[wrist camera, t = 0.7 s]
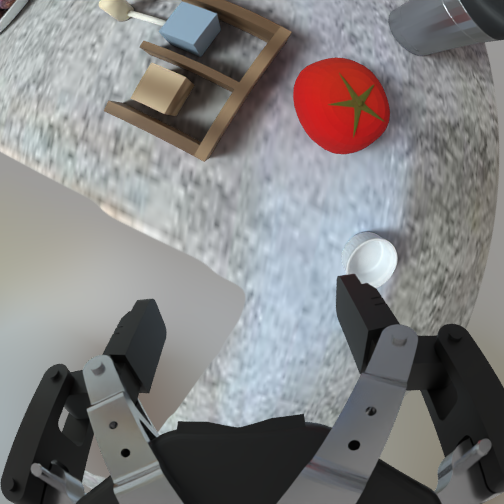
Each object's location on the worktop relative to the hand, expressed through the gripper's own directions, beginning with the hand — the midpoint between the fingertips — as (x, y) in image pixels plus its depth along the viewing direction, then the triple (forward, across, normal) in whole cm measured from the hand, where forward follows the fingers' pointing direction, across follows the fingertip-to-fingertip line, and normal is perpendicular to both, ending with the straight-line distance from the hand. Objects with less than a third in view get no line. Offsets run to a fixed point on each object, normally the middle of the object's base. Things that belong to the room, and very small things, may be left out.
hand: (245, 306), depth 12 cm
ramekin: (+29, -17, +14) cm, 36 cm away
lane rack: (+28, +5, -17) cm, 33 cm away
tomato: (+29, -13, -9) cm, 33 cm away
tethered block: (+28, +8, -26) cm, 39 cm away
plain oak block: (+28, +8, -14) cm, 33 cm away
